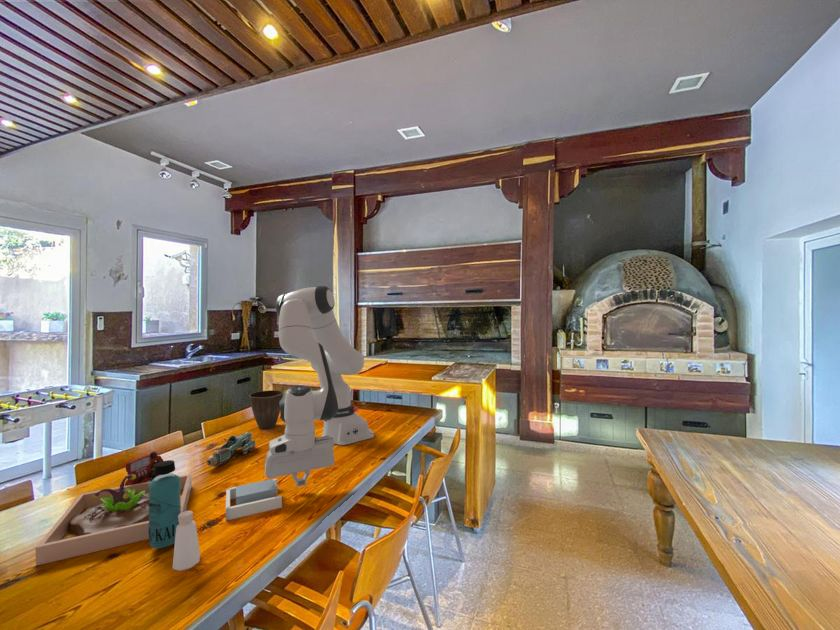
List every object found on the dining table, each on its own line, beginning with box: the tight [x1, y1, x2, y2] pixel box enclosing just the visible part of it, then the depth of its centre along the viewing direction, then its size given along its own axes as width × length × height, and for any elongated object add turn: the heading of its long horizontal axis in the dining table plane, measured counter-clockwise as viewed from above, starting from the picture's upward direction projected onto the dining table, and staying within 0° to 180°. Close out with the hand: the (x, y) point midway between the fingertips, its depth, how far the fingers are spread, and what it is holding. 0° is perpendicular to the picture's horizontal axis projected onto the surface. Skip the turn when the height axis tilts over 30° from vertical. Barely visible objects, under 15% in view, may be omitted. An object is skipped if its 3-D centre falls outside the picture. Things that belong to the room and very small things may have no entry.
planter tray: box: [35, 473, 193, 567], centre depth 100 cm, size 27×27×4 cm
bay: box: [225, 478, 283, 522], centre depth 107 cm, size 14×13×3 cm
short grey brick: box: [235, 478, 279, 506], centre depth 108 cm, size 11×7×4 cm, turn 117°
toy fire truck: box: [124, 451, 164, 486], centre depth 118 cm, size 7×12×10 cm, turn 167°
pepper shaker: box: [172, 510, 201, 572], centre depth 82 cm, size 5×5×11 cm
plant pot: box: [249, 389, 284, 430], centre depth 178 cm, size 15×15×16 cm
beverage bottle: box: [148, 459, 182, 549], centre depth 88 cm, size 6×7×20 cm
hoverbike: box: [205, 431, 257, 467], centre depth 141 cm, size 10×25×8 cm, turn 171°
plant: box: [68, 474, 149, 536], centre depth 101 cm, size 20×20×11 cm
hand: (301, 485), depth 113 cm, fingers closed
